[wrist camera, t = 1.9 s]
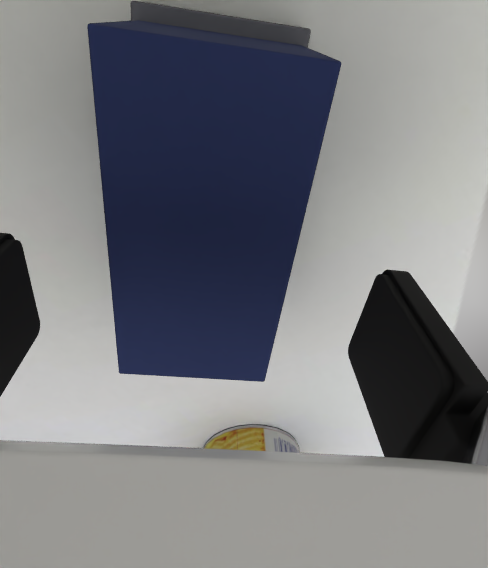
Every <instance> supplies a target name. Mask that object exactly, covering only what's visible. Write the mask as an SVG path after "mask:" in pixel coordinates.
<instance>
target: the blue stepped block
mask: <svg viewBox="0 0 488 568" xmlns="http://www.w3.org/2000/svg"><path fill="white" fill-rule="evenodd" d="M310 33H311V31H310V29H308V28H302V27H295V26H289V25H283V24H276V23H270V22H264V21H258V20H251V19H245V18H239V17H233V16H226V15H220V14H214V13H207V12H201V11H195V10H189V9H182V8H176V7H170V6H163V5H157V4H151V3H145V2H138V1H131V21H121V22H105V23H90V24H88V37H89V48H90V59H91V70H92V81H93V92H94V103H95V114H96V125H97V136H98V147H99V158H100V169H101V180H102V191H103V202H104V213H105V224H106V235H107V245H108V256H109V267H110V278H111V289H112V300H113V311H114V322H115V333H116V344H117V355H118V366H119V373H122V374H139V375H157V376H174V377H192V378H209V379H227V380H244V381H262V382H263V381H264V380H265V377H266V373H267V368H268V364H269V360H270V356H271V352H272V348H273V344H274V340H275V335H276V331H277V327H278V323H279V319H280V315H281V311H282V306H283V302H284V298H285V294H286V290H287V286H288V282H289V278H290V273H291V269H292V265H293V261H294V257H295V253H296V249H297V245H298V240H299V236H300V232H301V228H302V224H303V220H304V216H305V212H306V207H307V203H308V199H309V195H310V191H311V187H312V183H313V179H314V174H315V170H316V166H317V162H318V158H319V154H320V150H321V146H322V141H323V137H324V133H325V129H326V125H327V121H328V117H329V112H330V108H331V104H332V100H333V96H334V92H335V88H336V84H337V79H338V75H339V71H340V67H341V62H340V61H338V60H335V59H333V58H331V57H328V56H326V55H323V54H321V53H318V52H316V51H313V50H311V49H309V48H308V43H309V38H310Z"/></svg>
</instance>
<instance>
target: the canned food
mask: <svg viewBox="0 0 488 568" xmlns="http://www.w3.org/2000/svg"><path fill="white" fill-rule="evenodd" d="M204 448H205V449H228V450H251V451H272V452H293V453H300V452H299V446H298V444H297V442H296V441H295V439H294V438H293V437H292V436H291V435H289V434H288V433H287V432H284V431H282V430H280V429H277V428H274V427H269V426H264V425H246V426H237V427H234V428H230V429H227V430H224V431H222V432H220V433H218V434H216V435H214V436H213V437H212V438H211V439H210V440H208V441H207V443H206V444H205V446H204Z"/></svg>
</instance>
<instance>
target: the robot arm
mask: <svg viewBox="0 0 488 568" xmlns="http://www.w3.org/2000/svg"><path fill="white" fill-rule="evenodd" d="M39 330H40V320H39V316H38V311H37V307H36V303H35V299H34V294H33V290H32V286H31V282H30V277H29V273H28V269H27V264H26V260H25V256H24V252H23V247H22V244H21V242H20V241H18V240H15V239H14V237H13V236H12V235H11V234H7V233H0V396H1V395H2V393H3V391H4V390H5V388H6V386H7V385H8V383H9V382H10V380H11V378H12V377H13V375H14V373H15V372H16V370H17V368H18V367H19V365H20V364H21V362H22V360H23V359H24V357H25V355H26V354H27V352H28V350H29V349H30V347H31V345H32V344H33V342H34V341H35V339H36V337H37V336H38V333H39ZM348 354H349V359H350V361H351V364H352V367H353V370H354V373H355V375H356V378H357V381H358V384H359V387H360V389H361V392H362V395H363V398H364V401H365V403H366V406H367V409H368V412H369V415H370V417H371V420H372V423H373V426H374V429H375V431H376V434H377V437H378V440H379V442H380V445H381V448H382V451H383V454H384V456H385V457H376V456H355V455H334V454H314V453H293V452H272V451H251V450H228V449H205V448H182V447H158V446H134V445H110V444H84V443H57V442H31V441H4V440H0V568H488V393H487V391H488V382H487V380H486V379H485V377H484V376H483V375H482V373H481V372H480V370H479V369H478V368H477V366H476V365H475V364H474V362H473V361H472V359H471V358H470V357H469V355H468V354H467V353H466V351H465V350H464V348H463V347H462V345H461V344H460V343H459V341H458V340H457V338H456V337H455V336H454V334H453V333H452V331H451V330H450V329H449V327H448V326H447V325H446V323H445V322H444V320H443V319H442V318H441V316H440V315H439V313H438V312H437V311H436V309H435V308H434V306H433V305H432V304H431V302H430V301H429V299H428V298H427V297H426V295H425V294H424V293H423V291H422V290H421V288H420V287H419V286H418V284H417V283H416V281H415V280H414V279H413V277H412V276H411V274H410V273H409V272H406V271H396V270H385V271H384V272H383V274H379V275H377V276H376V278H375V280H374V283H373V285H372V288H371V291H370V293H369V296H368V298H367V301H366V303H365V306H364V308H363V311H362V313H361V316H360V318H359V321H358V323H357V326H356V329H355V331H354V334H353V336H352V339H351V341H350V344H349V348H348Z"/></svg>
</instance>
